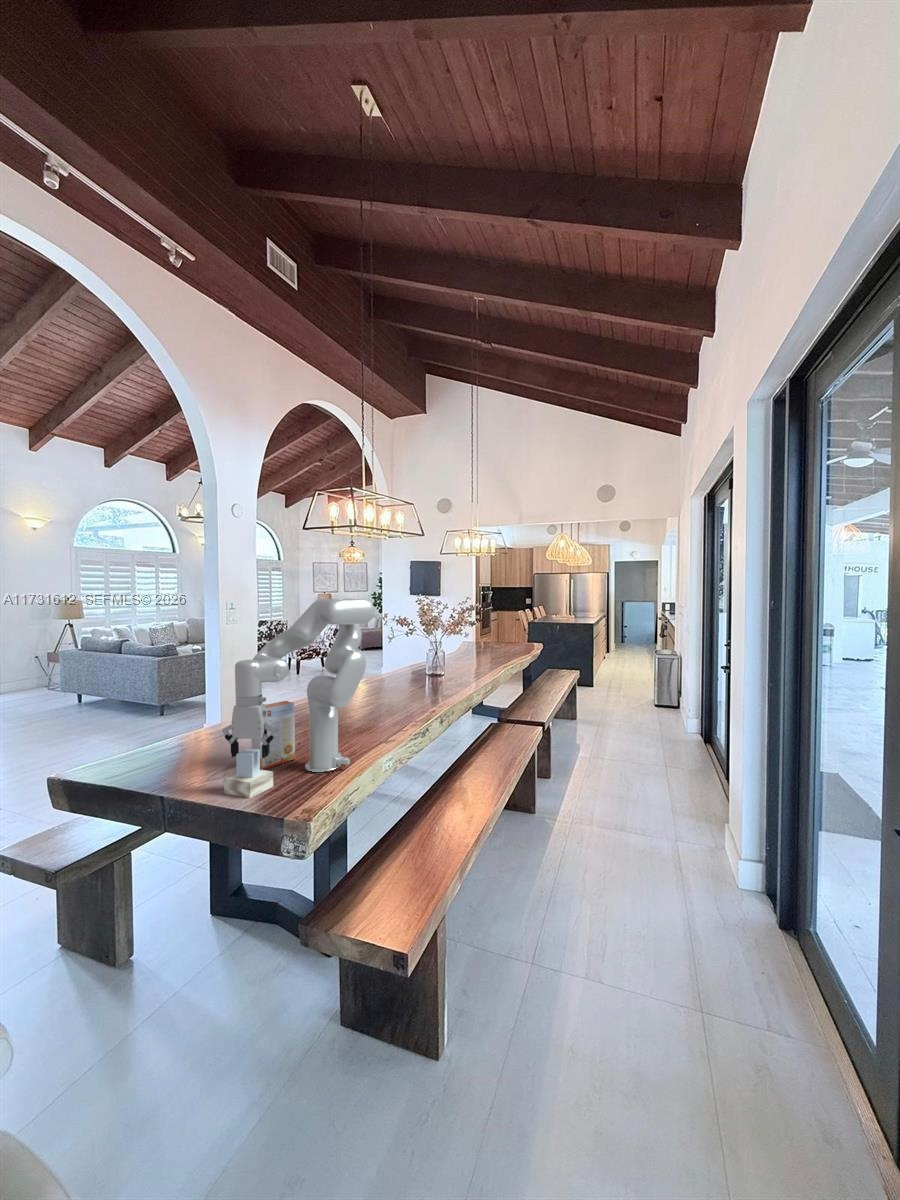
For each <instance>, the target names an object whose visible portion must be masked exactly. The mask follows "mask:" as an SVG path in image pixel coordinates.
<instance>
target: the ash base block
mask: <svg viewBox="0 0 900 1200" xmlns="http://www.w3.org/2000/svg"><path fill="white" fill-rule="evenodd" d="M273 787H274V771H271V770H265V769H262V770H260V772H259V773H258V774H257V775H255V776H254V777H253V778H247V777H236V772H234V773H232V774H229V775H227V776H225V777H223V794H225V795H230V796H231V795H232V796H237V797H242V798H247V799H252V798H253V797H255V796H258V795H260V794H261V793H264V792H266V791H268V790H269V789H271V788H273Z"/></svg>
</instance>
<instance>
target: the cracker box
mask: <svg viewBox="0 0 900 1200" xmlns="http://www.w3.org/2000/svg"><path fill="white" fill-rule="evenodd" d="M265 707H266V711H267V717H268V724H269V725H270V726H272V727H274V728H276V729H277V730H278V731H277V733H276V735H275V738H274V739H273V740H272V741H271V742H270V743H269V745H270V753H269V755H268V756H267V757H265V758H262V745H263V743H262V742H261V740H260V739H251V749H255V750H260V770H265V769H268V768H271V767H275V765H276V766H279V765H282V764H285V763H284V762H286V763H288V762H287V761H289V762H291V761H290V760H293V759H295V760H296V739H295V737H296V736H295V735H296V734H295V733H296V732H295V731H296V730H295V729H296V727H295V723H296V722H295V702H293V701H289V700H283V701H278V702H274V703H273V702H272V703H269V704H268V703H267V704H265ZM270 734H271V732H270V731H269V732H268V734H267V735H268V737H269V736H270ZM293 761H294V760H293ZM281 763H282V764H281ZM278 764H279V765H278Z"/></svg>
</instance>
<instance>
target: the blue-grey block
mask: <svg viewBox="0 0 900 1200" xmlns="http://www.w3.org/2000/svg"><path fill="white" fill-rule="evenodd" d="M235 757H236V758H235V759H236V765H235V766H236V767H235V768H236V772H235V773H236V777H247V778H253V777H254V776H255V775H257V774H258V773H259V772H260V750H255V749H252V748H251V749H249V748H248V749H247V748H245V749H244V748H243V749H242V750H240V751H239V753H237V754H236V756H235Z"/></svg>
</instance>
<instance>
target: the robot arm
mask: <svg viewBox="0 0 900 1200" xmlns="http://www.w3.org/2000/svg"><path fill="white" fill-rule="evenodd" d="M375 612H376V611H375V606H374V604H373V603H372V601H370V600H368V599H365V598H343V599H336V598H335V599H334V598H319V599H317V600H315V601H314V602H312V603H311V604H310V606H309V607H308V608H307V609H306V610H305V611H304V612H303V613H302V614H301V615H300V617H299V618H298V619H297V620H296V621H295V622H294V623H293V624H292V625H291V626H290V627H289V628H287V629H286V630H285V631H283V632H281V633H280V634H278V635H277V636H275V637H274V638H272V639H271V640H269V641H268V642H267V643H266V644H264V645H263V647H262V648H261V649H260V650H259V651H258V652H257V653H256V654H255V656H254V657H253V658H252V659H244V660H240V661H239V660H238V661H236V663H235V665H234V685H235V687H234V688H235V705H234V706H233V710H232V716H231V724H229V725H228V726H225V727H223V728H222V729H221V731H222V733H223V736H224V738H225V740H226V741H227V742H228V744H229V745H230V754H231V758H235V757H236V754H237V753H239V752H240V751H239V750H240V748H239V746H240V745H239V741H238V740H239V739H241V740H242V739H244V740H246V739H247V740H252V739H260V740H261V742H262V743H263V745H262V758H265V757H267V756H268V755H269V753H270V745H269V743H270V742H271V741H272V740H273V739H274V738H275V735H276V733H277V731H278V730H277V729H276V728H274V727H272V726H270V725H269V724H268V717H267V711H266V707H265V705H266V704H265V703H264V702H266V701H267V697H266V696H265V697H264V696H263V692H262V691H263V690H262V689H263V686H262V683H277V682H278V683H279V682H281V681H283V680H284V679H286V677H287V676H288V675H289V672H290V668H289V664H288V663H287V661H286V660H284V659H283V658H284V657H285V656H287V655H288V654H290V653H292V652H295V651H298V650H301V649H304V648H306V647H308V646H310V645H312V643H313V642H314V641H315V640H316V638H317V637H318V636H319V635H320V634H321V633H322V632H323V631H324V630H325V628H326V627H327V626H328V625H333V626H336V625H337V626H338V631H337V635H336V637H335V640H334V641H333V643H332V645H331V648H330V650H329V652H328V653H327V656H326V657H325V660H324V668H325V670H326V671H327V672H328V674H332V675H335V676H328V675H322V674H321V675H316V676H315V677H313V678H311V680H310V681H309V682H308V684H307V686H306V687H307V688H306V695H307V702H308V707H309V708H308V709H309V710H308V711H309V761H308V762H307V763H306V764H305V765H304V770H305V769H306V770H308V771H312V772H324V771H330V770H334V769H336V768H338V767H340V766H341V764H343V765H350V763H351V759H350V758H349V757H348V756H342V753H341V752H340V751H339V712H338V709H341V708H343V707H344V708H345V707H346V706H347V705H349V703H350V702H351V701H352V699H353V698H354V695H355V693H356V691H357V689H358V687H359V685H360V683H361V680H362V679H363V677H364V675H365V672H366V668H367V659H366V657H365V655H364V654H363V653H362V652H361V651H359V646H360V645H361V641H362V635H363V634H362V628H361V625H363V624H367V623H369V622H370V621H372V620H373V619H374V616H375ZM230 730H231V733H230ZM269 731H270V732H271V734H270V736H269V737H268V735H267V734H268V732H269ZM306 770H305V771H306ZM308 771H307V772H308Z"/></svg>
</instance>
